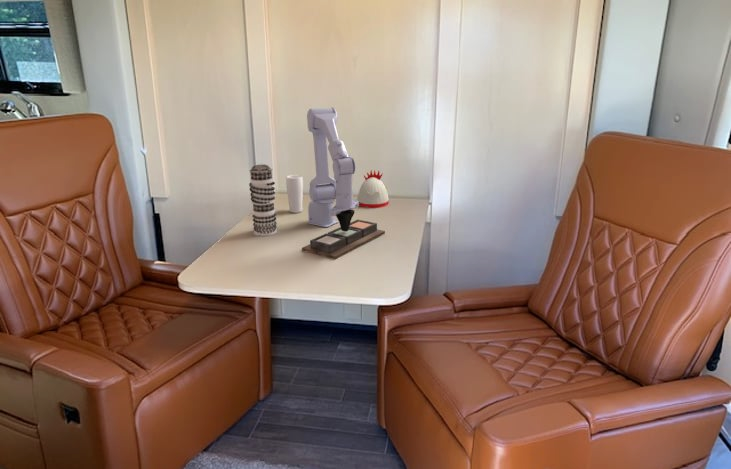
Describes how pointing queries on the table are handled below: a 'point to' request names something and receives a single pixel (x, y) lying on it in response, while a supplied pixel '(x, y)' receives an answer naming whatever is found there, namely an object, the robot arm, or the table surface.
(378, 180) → the knitted chicken hat
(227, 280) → the table surface
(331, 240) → the off-white key
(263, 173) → the white and black cylinder
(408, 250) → the table surface
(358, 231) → the key board
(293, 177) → the drinking glass
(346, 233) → the sage key
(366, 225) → the terracotta key
